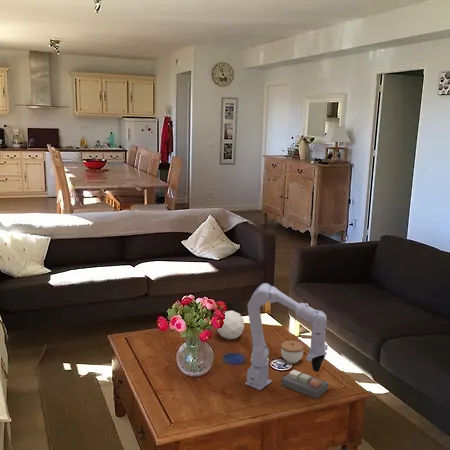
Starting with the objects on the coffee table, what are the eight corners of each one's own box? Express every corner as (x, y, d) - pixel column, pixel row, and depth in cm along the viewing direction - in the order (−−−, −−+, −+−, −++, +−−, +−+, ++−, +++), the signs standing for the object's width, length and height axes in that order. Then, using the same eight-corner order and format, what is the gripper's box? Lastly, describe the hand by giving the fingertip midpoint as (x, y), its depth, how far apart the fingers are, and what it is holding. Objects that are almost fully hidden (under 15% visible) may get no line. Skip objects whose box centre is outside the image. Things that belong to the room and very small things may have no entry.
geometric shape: (231, 349, 264) (226, 335, 253) (213, 331, 273) (208, 316, 262) (251, 332, 268) (248, 317, 257) (233, 315, 277) (229, 300, 266)
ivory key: (296, 381, 219) (296, 375, 218) (288, 378, 221) (289, 372, 221) (300, 377, 222) (301, 372, 221) (293, 375, 224) (293, 369, 224)
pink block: (316, 390, 213) (317, 385, 212) (308, 387, 215) (309, 382, 215) (321, 387, 216) (321, 381, 215) (313, 384, 218) (313, 378, 218)
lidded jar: (295, 368, 235) (296, 349, 233) (276, 361, 242) (276, 342, 240) (307, 359, 244) (308, 341, 242) (287, 353, 250) (288, 335, 248)
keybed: (316, 398, 210) (317, 392, 209) (281, 384, 220) (281, 378, 220) (327, 389, 218) (328, 382, 217) (293, 376, 228) (293, 370, 227)
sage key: (306, 385, 216) (306, 379, 215) (298, 382, 218) (299, 376, 218) (310, 381, 219) (311, 376, 218) (303, 378, 221) (303, 373, 220)
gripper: (318, 349, 203) (316, 380, 206) (334, 337, 214) (332, 367, 217) (302, 344, 207) (301, 374, 210) (319, 333, 218) (317, 362, 221)
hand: (316, 370), depth 214 cm, fingers closed
